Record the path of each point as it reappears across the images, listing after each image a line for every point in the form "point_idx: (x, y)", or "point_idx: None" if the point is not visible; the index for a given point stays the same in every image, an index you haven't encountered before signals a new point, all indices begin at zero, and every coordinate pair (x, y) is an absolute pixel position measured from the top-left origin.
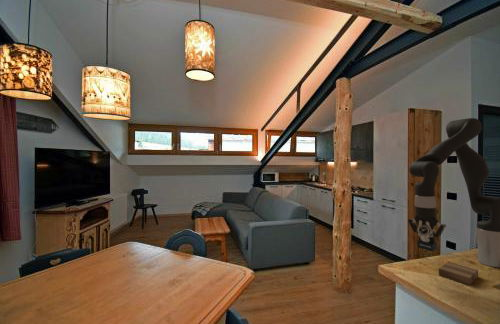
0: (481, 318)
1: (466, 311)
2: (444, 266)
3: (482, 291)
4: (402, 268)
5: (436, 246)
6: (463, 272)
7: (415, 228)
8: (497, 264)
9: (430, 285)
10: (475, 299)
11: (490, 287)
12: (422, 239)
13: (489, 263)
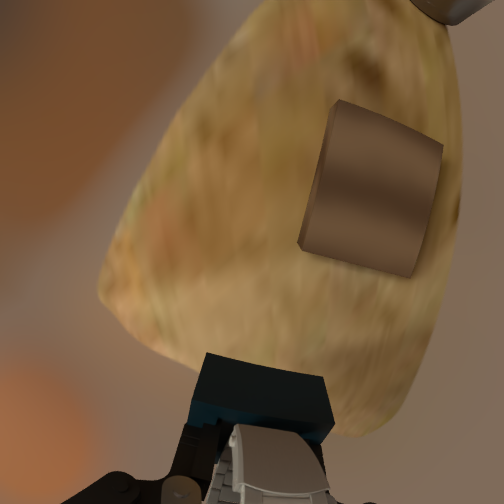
0: (371, 431)
1: (349, 428)
2: (327, 194)
3: (421, 288)
4: (152, 277)
5: (324, 400)
6: (400, 219)
7: (103, 500)
8: (457, 21)
9: (272, 366)
10: (388, 362)
11: (447, 231)
12: (223, 496)
13: (440, 15)
